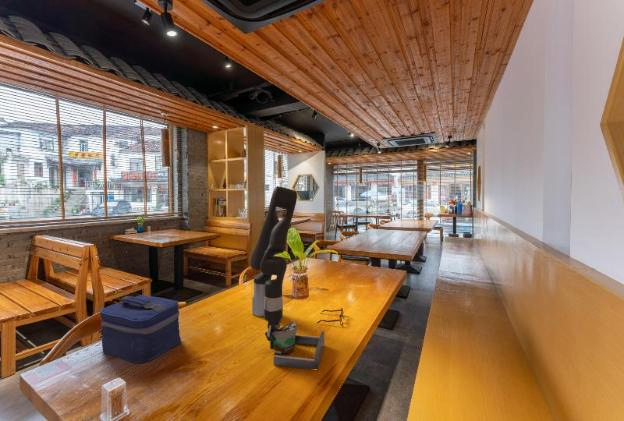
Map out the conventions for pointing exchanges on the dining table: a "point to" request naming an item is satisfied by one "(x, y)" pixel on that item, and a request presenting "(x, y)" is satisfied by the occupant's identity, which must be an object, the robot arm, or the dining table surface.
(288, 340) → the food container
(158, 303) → the lunch bag
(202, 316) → the dining table surface
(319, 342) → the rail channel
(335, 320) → the glasses
